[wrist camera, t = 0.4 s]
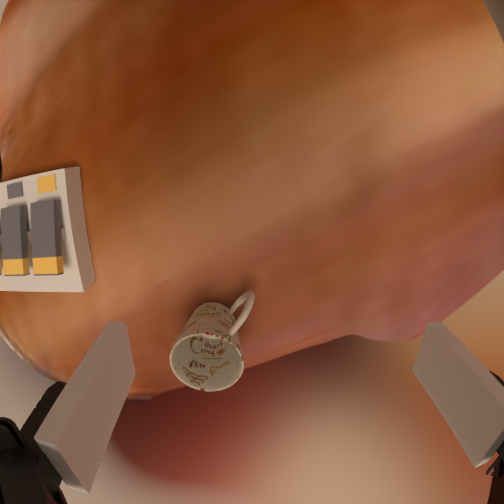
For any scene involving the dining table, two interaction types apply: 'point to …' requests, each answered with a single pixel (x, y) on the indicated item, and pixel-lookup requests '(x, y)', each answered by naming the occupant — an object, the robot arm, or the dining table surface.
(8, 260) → the rocker
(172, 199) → the dining table surface
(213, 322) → the mug
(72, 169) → the switch unit
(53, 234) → the rocker
